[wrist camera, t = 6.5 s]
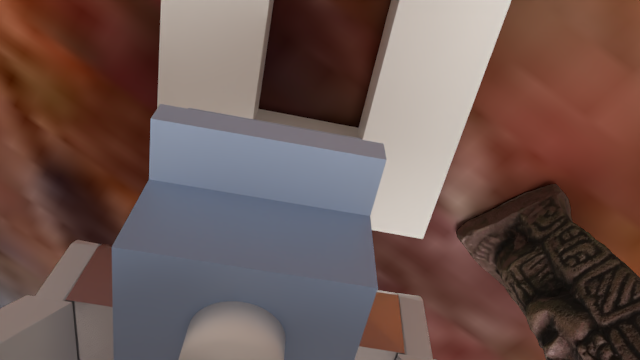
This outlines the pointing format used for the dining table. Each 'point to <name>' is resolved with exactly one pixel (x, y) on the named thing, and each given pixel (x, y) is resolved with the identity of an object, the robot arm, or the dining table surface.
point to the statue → (559, 277)
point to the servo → (246, 243)
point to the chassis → (383, 94)
